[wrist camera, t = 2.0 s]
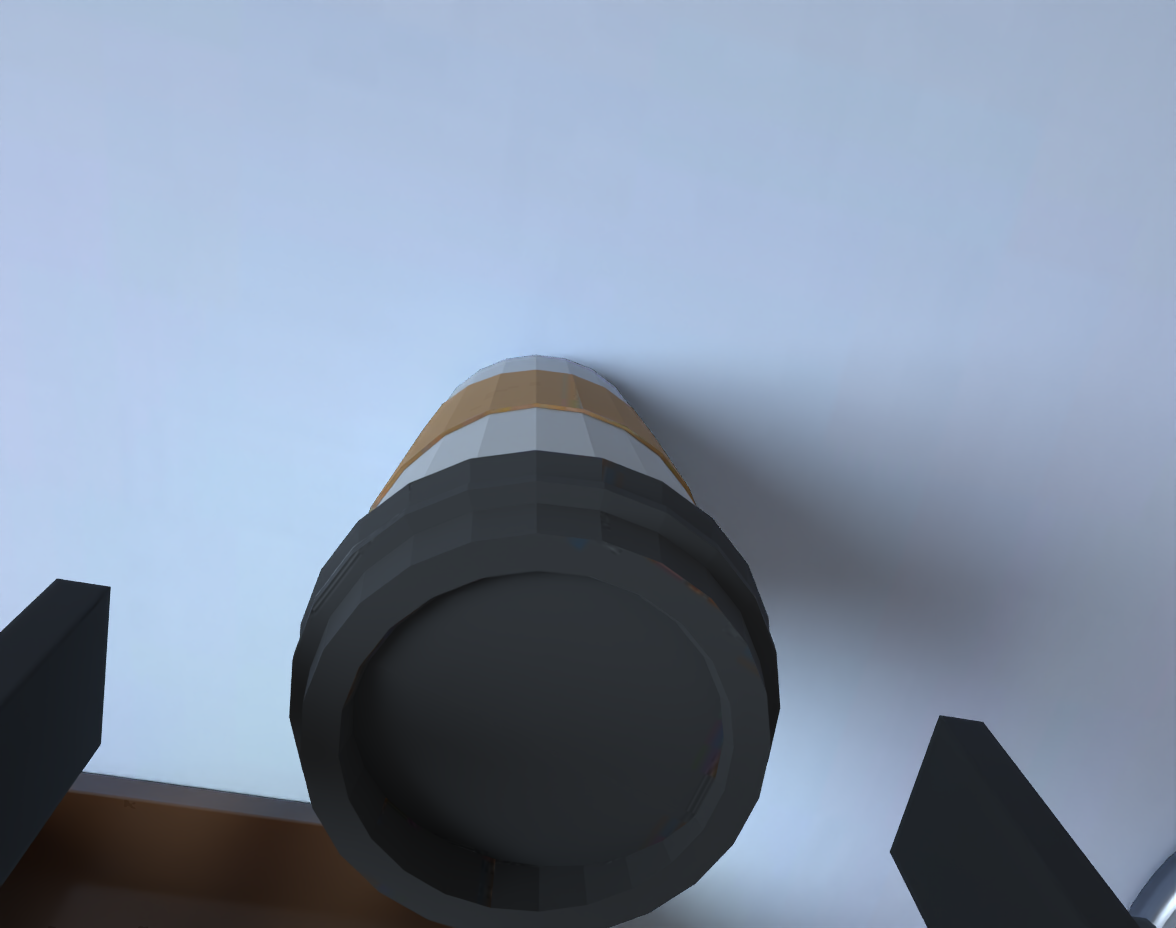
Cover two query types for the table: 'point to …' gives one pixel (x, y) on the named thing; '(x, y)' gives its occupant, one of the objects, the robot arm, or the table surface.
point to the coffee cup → (534, 667)
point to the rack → (188, 865)
